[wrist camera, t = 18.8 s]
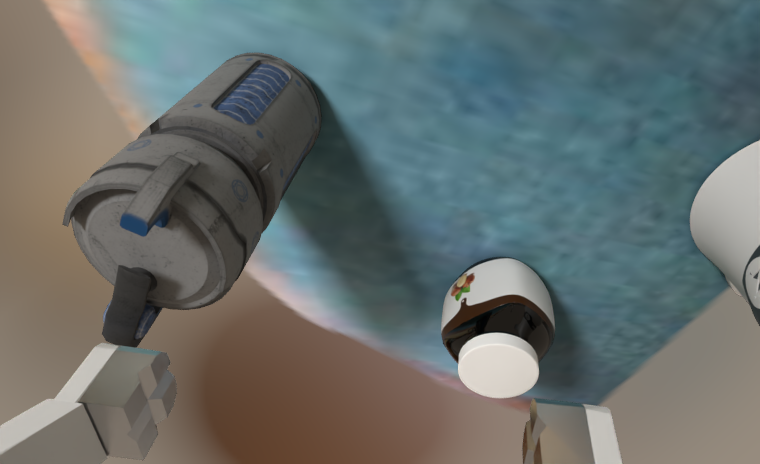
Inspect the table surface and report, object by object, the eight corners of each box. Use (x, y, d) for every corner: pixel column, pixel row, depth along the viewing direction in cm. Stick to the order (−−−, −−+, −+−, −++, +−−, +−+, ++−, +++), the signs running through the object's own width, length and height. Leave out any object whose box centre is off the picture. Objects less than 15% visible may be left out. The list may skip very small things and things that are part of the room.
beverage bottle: (197, 148, 53) (21, 336, 33) (231, 18, 46) (30, 158, 25) (295, 193, 54) (184, 400, 34) (345, 73, 47) (239, 249, 27)
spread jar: (515, 236, 53) (521, 320, 44) (579, 309, 57) (598, 401, 48) (419, 291, 59) (407, 376, 50) (483, 354, 63) (484, 444, 54)
